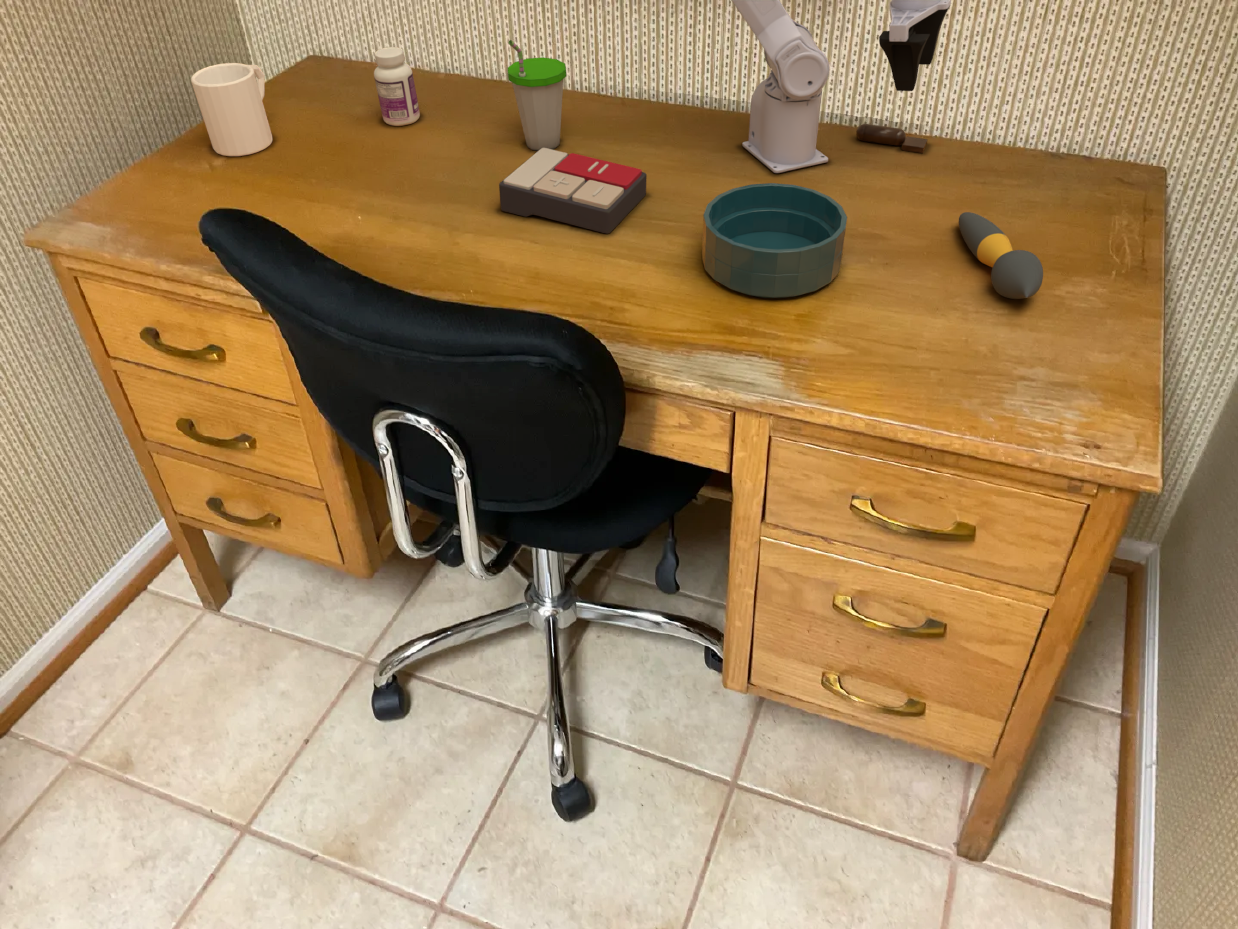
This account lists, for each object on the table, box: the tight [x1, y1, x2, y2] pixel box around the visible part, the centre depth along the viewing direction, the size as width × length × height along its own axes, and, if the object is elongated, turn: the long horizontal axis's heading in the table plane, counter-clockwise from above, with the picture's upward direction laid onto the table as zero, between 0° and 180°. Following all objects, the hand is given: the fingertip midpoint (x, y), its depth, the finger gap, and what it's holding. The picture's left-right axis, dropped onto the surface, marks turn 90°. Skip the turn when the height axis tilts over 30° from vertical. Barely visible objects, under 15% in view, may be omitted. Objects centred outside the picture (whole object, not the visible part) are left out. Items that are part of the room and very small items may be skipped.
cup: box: [507, 39, 568, 152], centre depth 129 cm, size 8×8×15 cm
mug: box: [190, 62, 273, 157], centre depth 135 cm, size 8×12×10 cm
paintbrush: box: [958, 211, 1044, 300], centre depth 105 cm, size 20×5×5 cm, turn 10°
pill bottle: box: [373, 46, 421, 127], centre depth 138 cm, size 5×5×10 cm
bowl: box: [701, 182, 848, 299], centre depth 107 cm, size 15×15×6 cm
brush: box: [855, 123, 929, 154], centre depth 130 cm, size 9×3×2 cm, turn 66°
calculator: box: [498, 148, 648, 235], centre depth 119 cm, size 11×4×15 cm
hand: (914, 76), depth 123 cm, fingers open, 7 cm apart
